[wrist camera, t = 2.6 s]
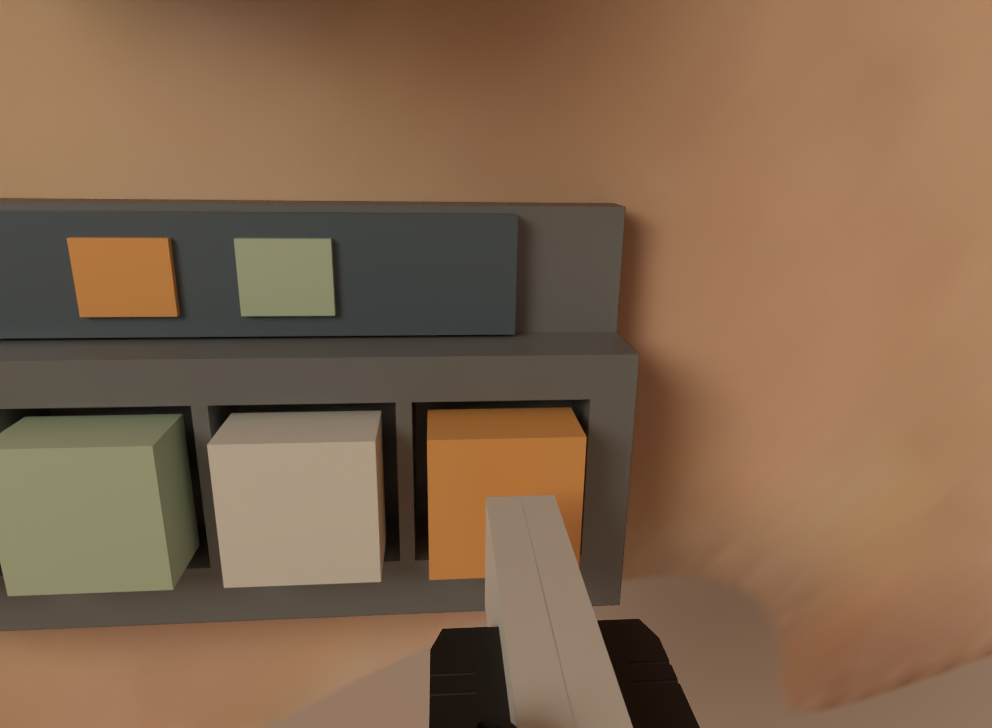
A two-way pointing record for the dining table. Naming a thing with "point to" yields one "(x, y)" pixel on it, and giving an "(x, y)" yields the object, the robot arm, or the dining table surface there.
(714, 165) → the dining table surface
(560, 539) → the robot arm
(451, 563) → the key orange
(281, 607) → the keypad
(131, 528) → the key sage
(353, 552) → the key grey mid
